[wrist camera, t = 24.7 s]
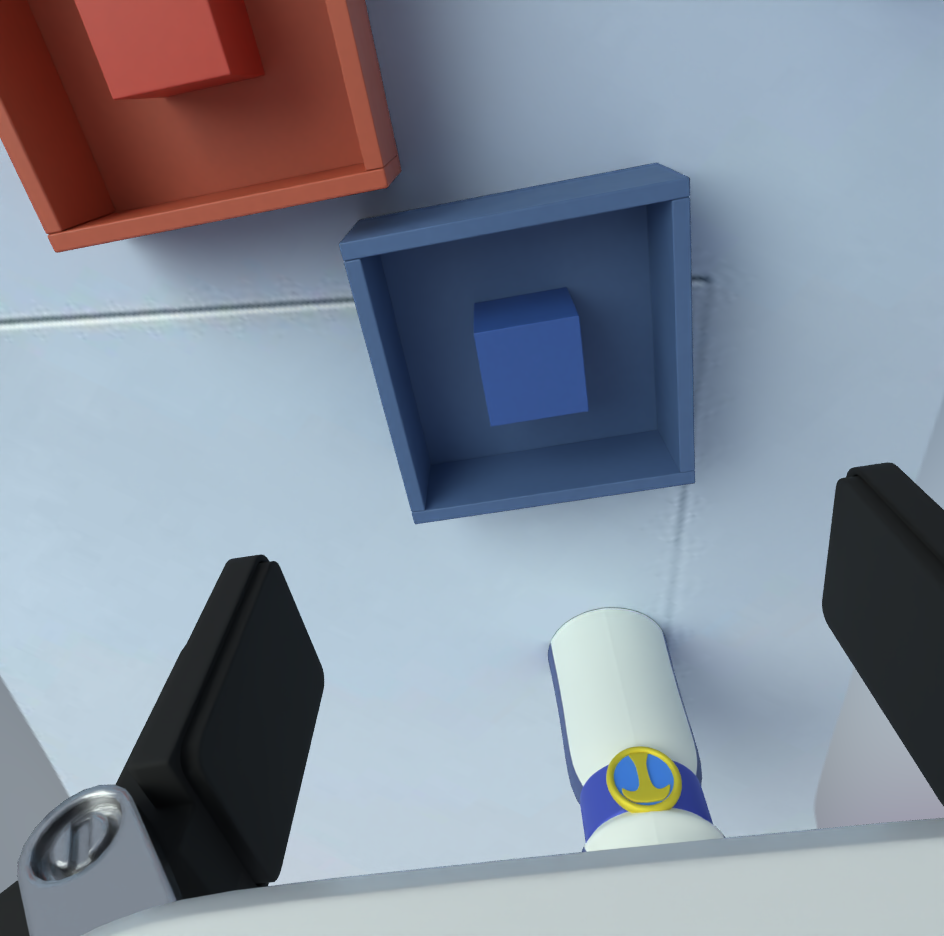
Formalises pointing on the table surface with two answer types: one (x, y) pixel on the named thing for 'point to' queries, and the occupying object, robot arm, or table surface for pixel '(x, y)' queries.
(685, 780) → the water bottle
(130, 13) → the red block
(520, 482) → the blue bin
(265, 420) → the table surface
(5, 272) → the table surface
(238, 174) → the red bin
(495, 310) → the blue block
